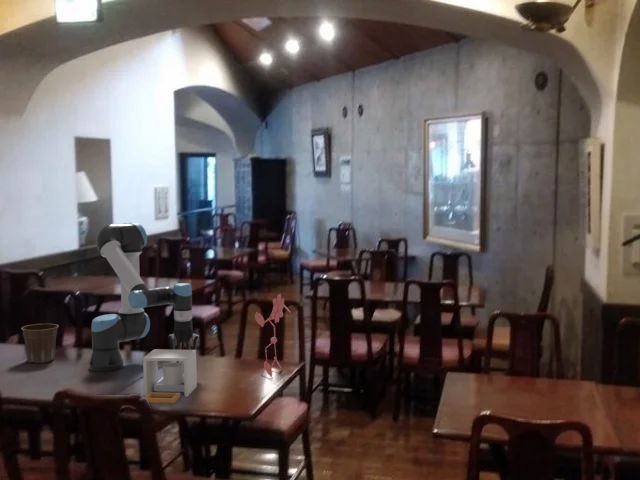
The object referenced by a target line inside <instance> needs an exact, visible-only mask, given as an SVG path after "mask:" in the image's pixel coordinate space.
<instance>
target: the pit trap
mask: <svg viewBox="0 0 640 480" xmlns="http://www.w3.org/2000/svg"><path fill="white" fill-rule="evenodd" d="M144 397H145V398H146V399H147V400H148V401H149V402H150V403H149V404H161V403H165V405H166V404H170V405H171V404H172V405H174V404H176V403H177V402H178V400H179V399H180V398H181V392H164V391H152V392H150V393H149V394H147V395H146V396H144Z"/></svg>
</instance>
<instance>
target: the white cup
mask: <svg viewBox="0 0 640 480" xmlns="http://www.w3.org/2000/svg"><path fill="white" fill-rule="evenodd" d="M162 377H163V380H164V385H183V383H181V382H182V363H178V362H176V361H170V362H166V363H163V364H162Z"/></svg>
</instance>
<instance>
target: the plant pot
mask: <svg viewBox="0 0 640 480" xmlns="http://www.w3.org/2000/svg"><path fill="white" fill-rule="evenodd" d="M59 327H60V326H59V324H55V323H35V324H29V325H24V326H22V327H21V329H20V330H22V337H23V339H24V345H25V347H24V348H25V354H26V355H25V356H26V361H27V362H28V363H31V364H32V363H35V364H44V363H49V362H51V361H54V360H55V359H56V358H55V357H56V356H55V355H56V344H57V342H56V341H57V340H56V339H57V334H58V328H59Z"/></svg>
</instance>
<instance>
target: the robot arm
mask: <svg viewBox="0 0 640 480" xmlns="http://www.w3.org/2000/svg"><path fill="white" fill-rule="evenodd" d="M147 243H148V236H147V232H146V229H145V228H144V226H143V225H142V224H141V223H138V222H137V223H136V222H124V223H109V224H105V225H104V226H103V227H101V228H100V229H99V231H98V232H97V235H96V239H95V244H96V249H97V251H98V252H99V254H100V255H101V257H103V258H105V259H106V260H107V262H108V263H109V265H110V266H111V268H112V269H113V271H114V272H115V274H116V275H117V276H118V278H119V280H120V295H121V297H120V299H121V300H120V301H121V307H120V309H119V310H118V314H116V313H109V314H103V315H99V316H97V317H95V318H93V319H92V320H91V321H92V322H91V330H90V331H91V343H92V344H91V345H92V346H91V347H92V353H91V356H90V358H89V362H88V370H90V371H92V372H112V371H116V370H120V369H122V368H124V365H125V364H124V358H123V356H122V353H121V351H120V343H122V342H127V341H132V340H138V339H142V338H144V337H146V336H147V335H148V333H149V331H150V326H151V320H150V318H149V315H148V314H147V313H146V312H145V309H144V308H149V307H156V306H157V307H158V306H163V305H173V315H174V316H173V319H174V323H173V324H174V327H173V328H174V331H173V333H172V334H171V333H170V334H169V335H168V336H167V337H168V338H167V339H168V340H169V345H170V350H182V345H183V342H184V343H185V348H186V349H185V350H196V353H197V351H198V350H197V349H198V340H199V338H200V334H196V333H194V329H193V320H192V319H193V292H192V285H191V283H188V282H185V283H184V282H179V283H175V284H174V285H173V286H170V285H160V286H158V287H154V288H148V286H147V285H146V283H145V282H144V281H143V279H142V277H141V275H140V272H141V271H140V255H141V254H142V253H143V248H144V247H146V246H147ZM191 338H192V339H193V341H192V347H191ZM175 339H176V340H177V346H176V344H175ZM175 362H178V363H180V361H175Z"/></svg>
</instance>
